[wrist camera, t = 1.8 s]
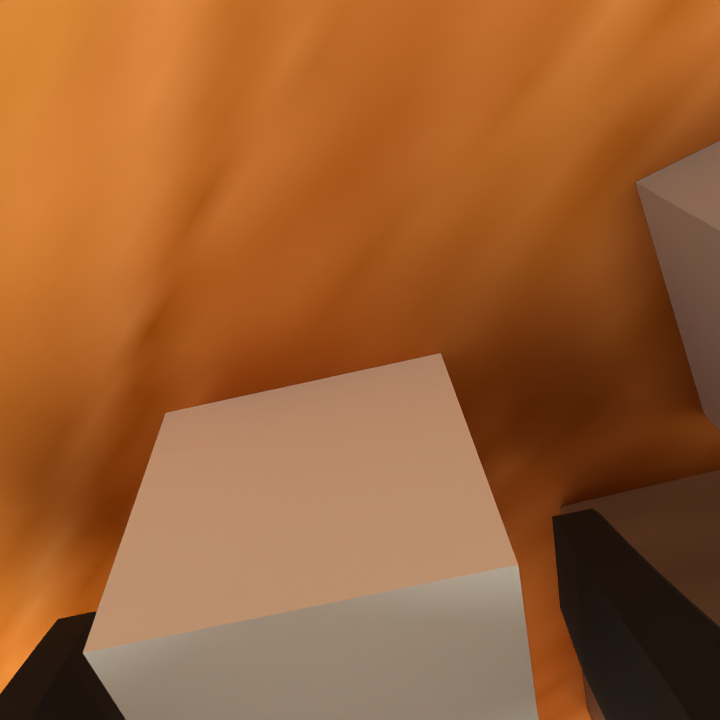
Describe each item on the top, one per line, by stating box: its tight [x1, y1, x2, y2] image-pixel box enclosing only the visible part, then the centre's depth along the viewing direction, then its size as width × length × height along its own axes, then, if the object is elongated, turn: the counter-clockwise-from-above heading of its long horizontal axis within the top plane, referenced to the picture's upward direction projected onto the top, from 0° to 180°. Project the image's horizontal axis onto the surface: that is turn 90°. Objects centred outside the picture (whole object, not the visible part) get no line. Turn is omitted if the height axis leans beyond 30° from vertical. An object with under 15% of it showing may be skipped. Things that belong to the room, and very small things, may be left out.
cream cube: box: [83, 353, 538, 720], centre depth 11 cm, size 5×5×5 cm
